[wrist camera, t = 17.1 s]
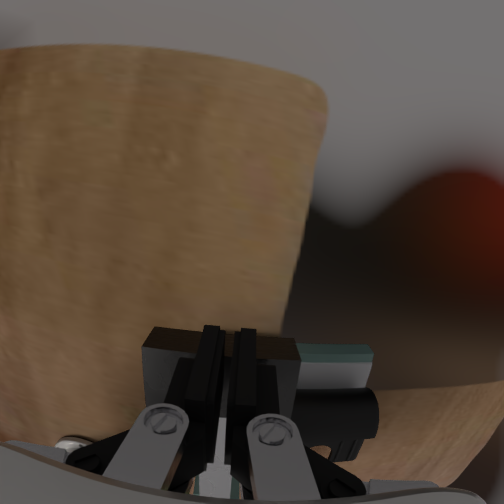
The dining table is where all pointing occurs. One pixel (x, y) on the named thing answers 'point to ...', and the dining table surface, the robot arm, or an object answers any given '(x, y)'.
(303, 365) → the press frame
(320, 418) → the end cap
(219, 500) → the robot arm
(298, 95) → the dining table surface
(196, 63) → the dining table surface
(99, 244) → the dining table surface
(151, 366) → the press lever
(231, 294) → the dining table surface
